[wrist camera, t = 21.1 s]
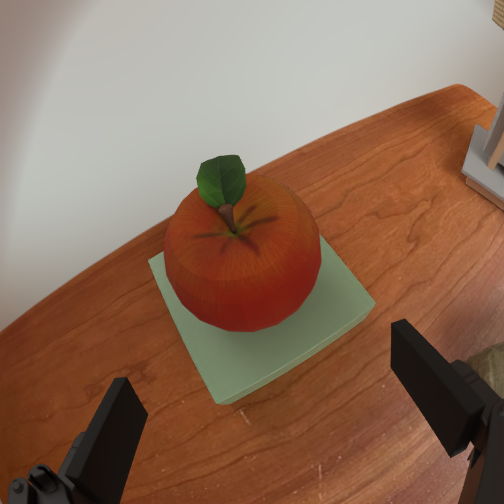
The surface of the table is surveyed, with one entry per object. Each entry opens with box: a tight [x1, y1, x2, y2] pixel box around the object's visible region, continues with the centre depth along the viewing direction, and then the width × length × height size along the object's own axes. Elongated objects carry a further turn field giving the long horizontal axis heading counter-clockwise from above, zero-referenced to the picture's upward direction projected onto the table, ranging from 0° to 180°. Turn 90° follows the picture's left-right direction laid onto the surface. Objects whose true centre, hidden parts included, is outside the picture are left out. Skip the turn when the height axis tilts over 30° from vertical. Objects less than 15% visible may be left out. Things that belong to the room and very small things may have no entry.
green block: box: [148, 234, 376, 404], centre depth 23 cm, size 13×13×4 cm
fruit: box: [164, 155, 322, 332], centre depth 17 cm, size 10×10×10 cm
